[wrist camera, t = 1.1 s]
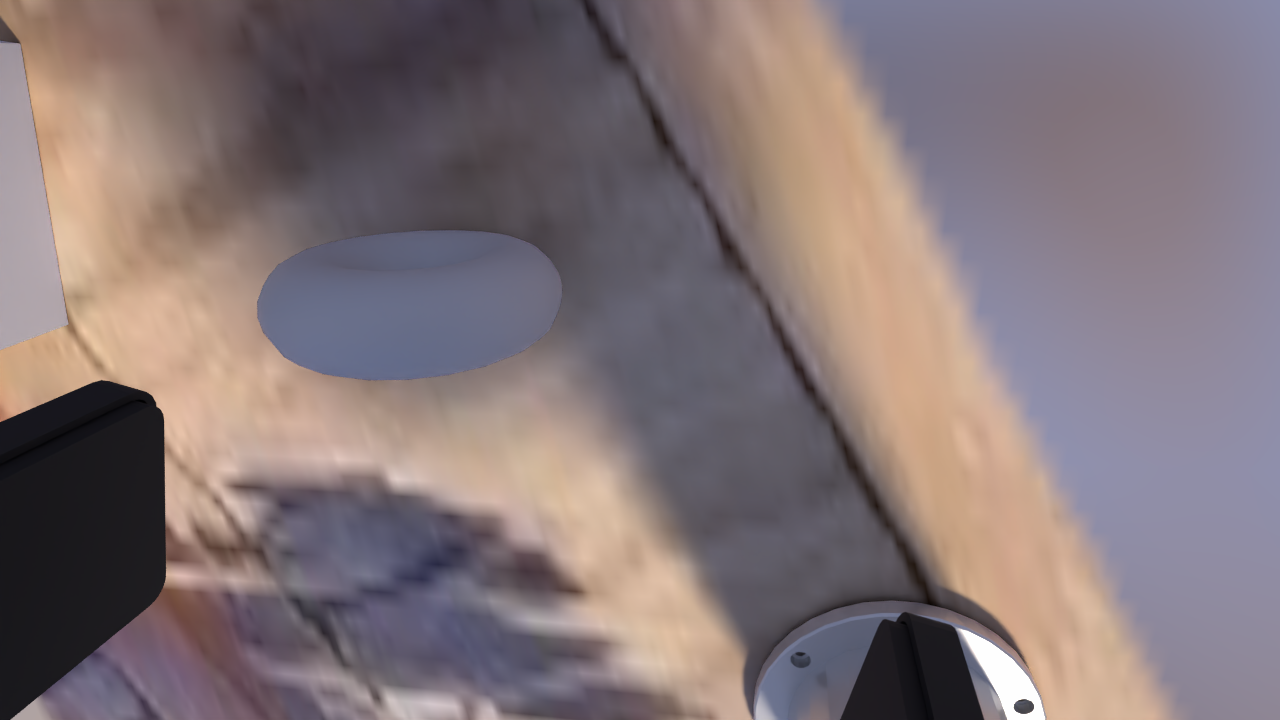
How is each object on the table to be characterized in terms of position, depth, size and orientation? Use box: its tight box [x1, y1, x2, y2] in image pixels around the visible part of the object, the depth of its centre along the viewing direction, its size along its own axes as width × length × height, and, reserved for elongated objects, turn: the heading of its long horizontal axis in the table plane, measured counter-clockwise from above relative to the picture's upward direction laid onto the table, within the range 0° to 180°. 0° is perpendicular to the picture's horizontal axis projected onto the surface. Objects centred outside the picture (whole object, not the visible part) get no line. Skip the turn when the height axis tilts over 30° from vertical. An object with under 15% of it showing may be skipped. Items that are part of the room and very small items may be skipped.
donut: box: [257, 230, 563, 380], centre depth 27 cm, size 10×4×10 cm, turn 91°
